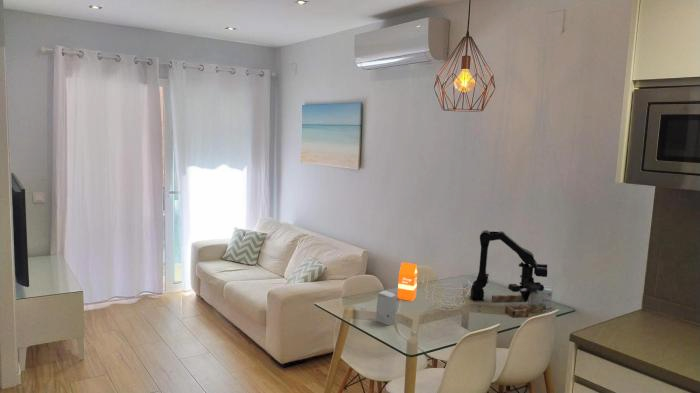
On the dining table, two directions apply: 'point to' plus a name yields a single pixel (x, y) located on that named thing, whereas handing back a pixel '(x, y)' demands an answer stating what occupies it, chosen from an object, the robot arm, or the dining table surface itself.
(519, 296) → the corridor
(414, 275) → the orange juice
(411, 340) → the dining table surface
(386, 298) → the skincare box
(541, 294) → the light bulb box
